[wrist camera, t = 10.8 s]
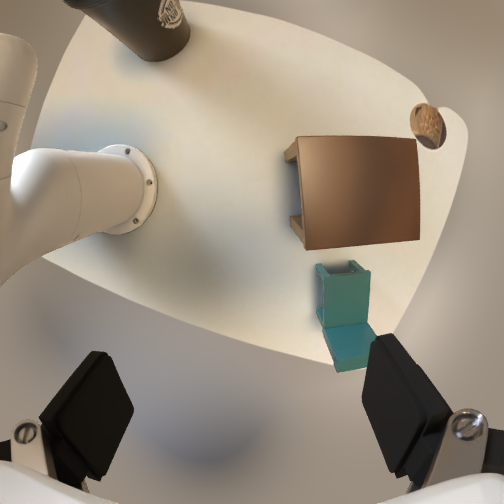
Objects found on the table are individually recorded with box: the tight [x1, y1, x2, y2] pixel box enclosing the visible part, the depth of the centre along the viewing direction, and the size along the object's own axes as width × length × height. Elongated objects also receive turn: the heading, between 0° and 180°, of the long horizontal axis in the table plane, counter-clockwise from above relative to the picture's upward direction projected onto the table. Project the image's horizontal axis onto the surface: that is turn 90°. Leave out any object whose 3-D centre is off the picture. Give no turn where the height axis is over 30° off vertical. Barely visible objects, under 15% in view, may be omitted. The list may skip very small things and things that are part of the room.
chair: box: [316, 260, 377, 373], centre depth 32 cm, size 8×6×13 cm
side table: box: [284, 136, 420, 250], centre depth 28 cm, size 12×10×12 cm
